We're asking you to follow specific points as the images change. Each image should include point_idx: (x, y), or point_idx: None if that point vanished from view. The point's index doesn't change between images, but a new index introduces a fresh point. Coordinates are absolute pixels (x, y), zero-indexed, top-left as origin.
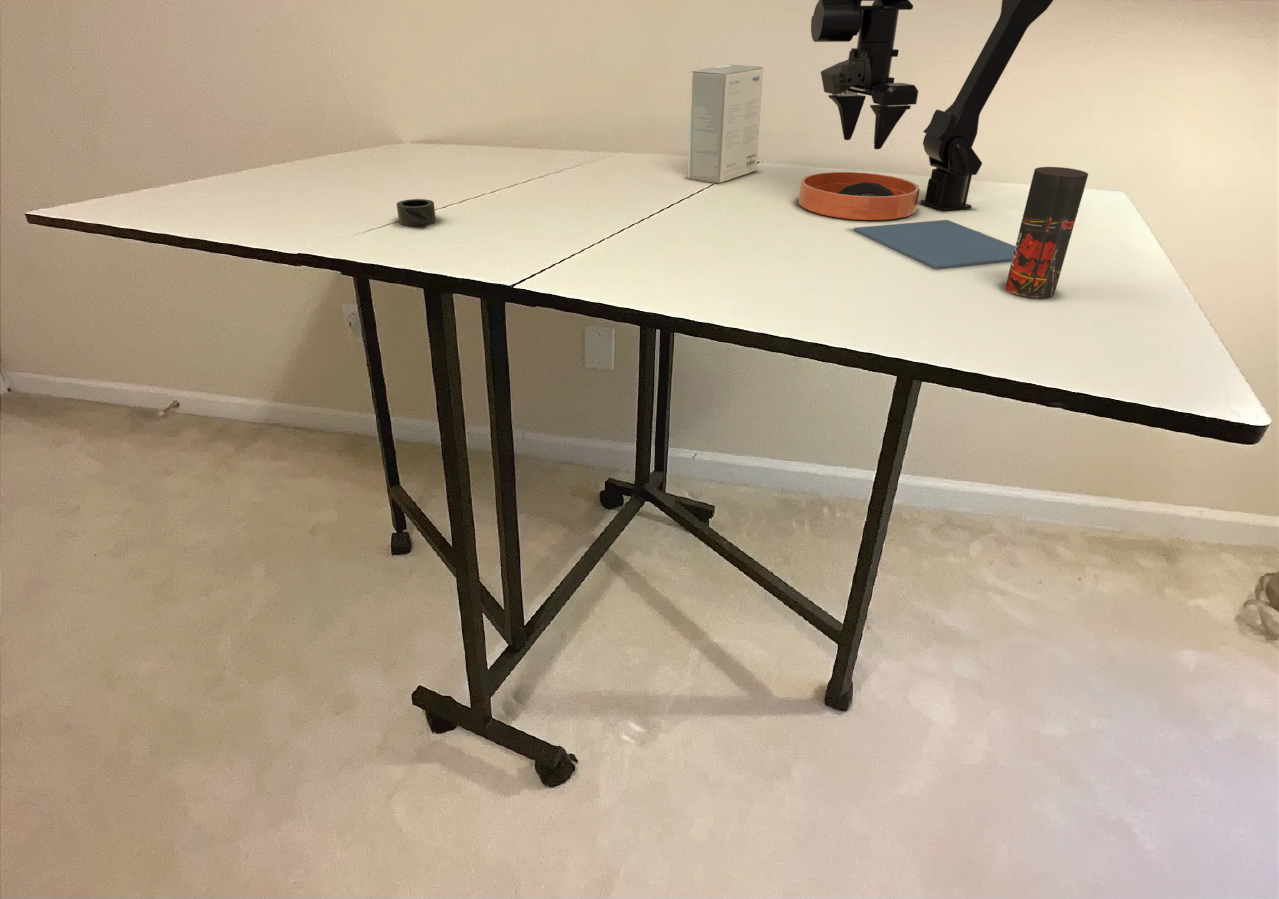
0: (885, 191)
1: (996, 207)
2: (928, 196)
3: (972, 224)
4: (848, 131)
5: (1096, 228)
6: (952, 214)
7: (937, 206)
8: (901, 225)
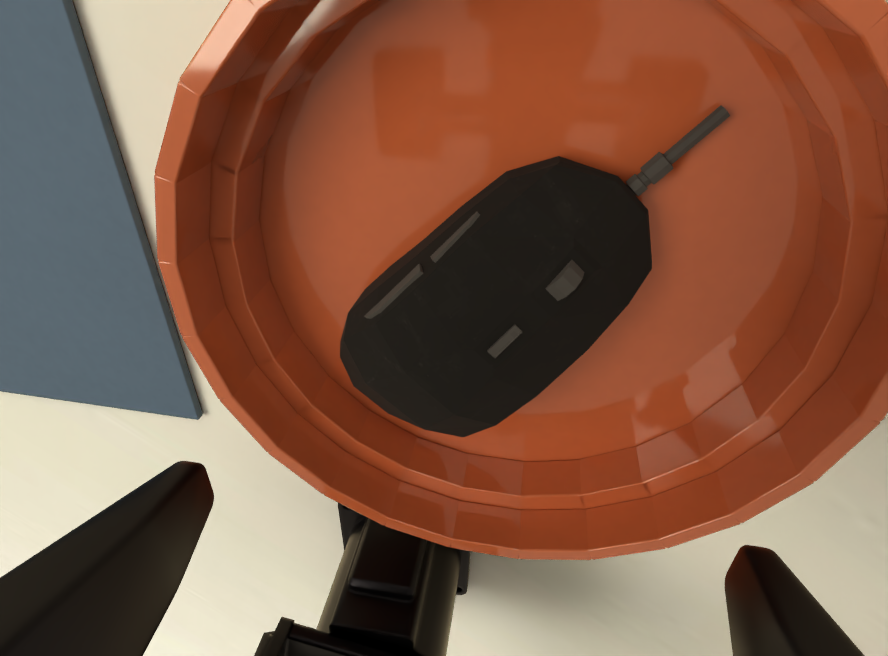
0: (374, 381)
1: None
2: None
3: (176, 457)
4: (762, 649)
5: None
6: (303, 490)
7: None
8: (110, 219)
